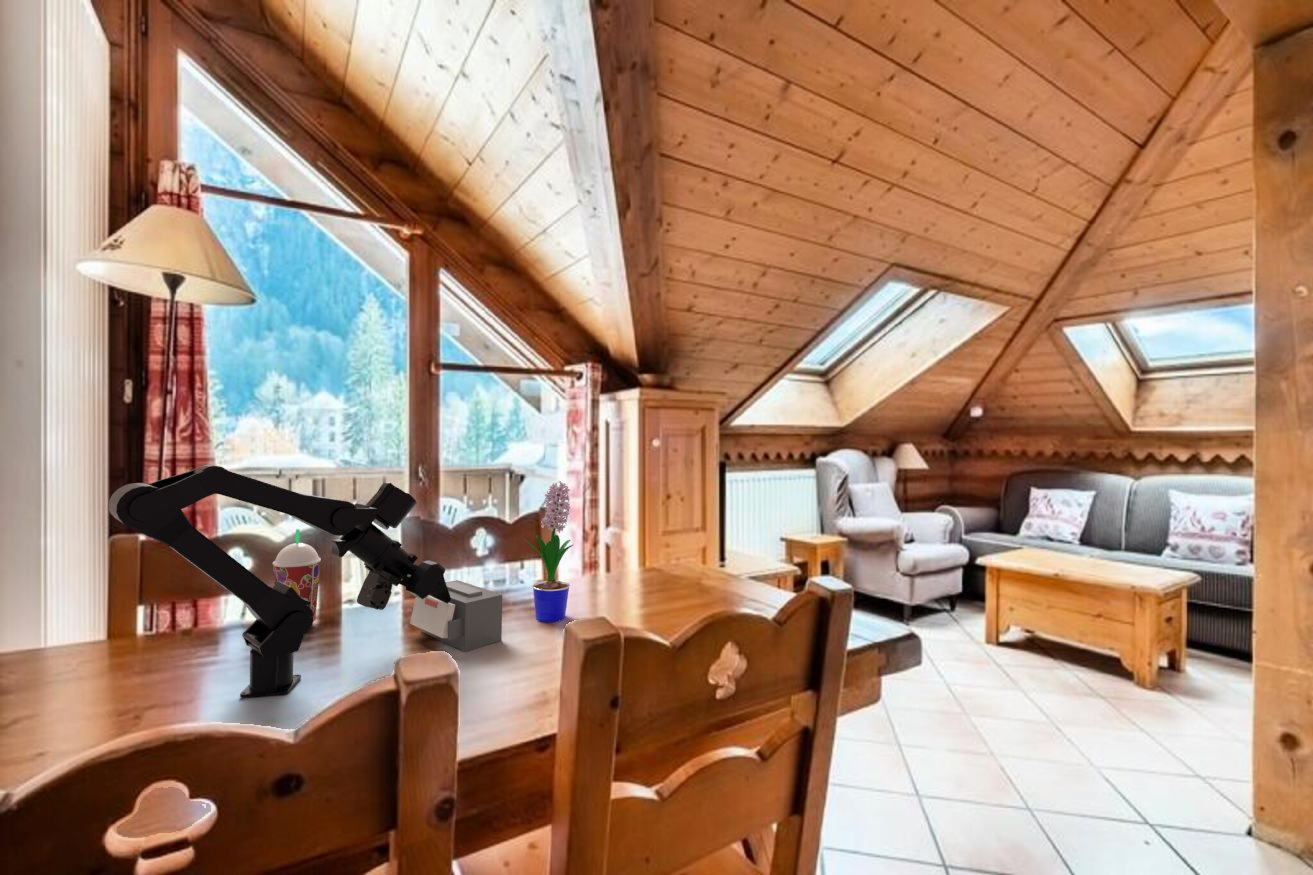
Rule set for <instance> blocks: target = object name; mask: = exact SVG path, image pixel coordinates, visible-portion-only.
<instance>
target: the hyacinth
mask: <svg viewBox="0 0 1313 875" xmlns="http://www.w3.org/2000/svg"><path fill="white" fill-rule="evenodd" d="M558 483H559V486H558ZM570 491H571V489H570V488H569V486H568V485H567V483H566V482H565V483H563V482H562V481H560V480H558V481H557V482H556V483H552V484H551V485H549V487H548V490H547V491H546V493H545V494H544V496H545V498H544V500H545V502H546V504H545V507H546V508H544V511H545V516H544V517H543V518H541V521H540V524H541V525H540V527H541V528H542V529H544V527H545V526H546V528H547V529H548V531H551V536H550V540H548V541H547V542H546V544H545V542H544V540H543V538H541V536H539V534H537V535H536V540H537V543H538V546H539V549H540V550H541V551H540V550H538V548H536V546H534V545H533V544H531V543H530V542H529V541H528V540H527V539H524V541H525V542H526V543H527V545H529V546H530V547H531V548H532V549H533V550H534V551H535V552H537V553H538V554H539V556H540V557H541V559H542V561H543V564H544V566H545V569H546V572H547V579H546V580H543V581H538V582H535V583H533V584H532V586H531V587H532V591H533V592H532V593H533V599H534V611H535V619H536V620H537V622H541V623H556V622H557V621H558V622H560V621H559V620H561V621H563V620H565V619H564V618H566V615H567V614H566V613H567V606H568V597H569V593H570V592H569V591H570V586H571V585H570V583H569V582H567V581H563V580H556V578H555V577H556V571H557V569H558V566H559V565H560V562H561V561H562V558H563V556H564V554H565V553H566V552H567V551H568V550H569V549H570V548H572V547H573V546H574V544H571V545H568V544H569V543H570V542H571V539H567V540H565V542H563V543H562V545H561V540H560V536H559V535H558V534H560V533H561V532H563V531H564V529H565V528H566V525H567V522H568V518H569V517H568V516H570V509H571V506H570V505H571V503H570V500H571V499H570V496H569V495H570V494H569V492H570ZM564 524H565V525H564ZM556 532H558V534H555V533H556ZM567 545H568V546H567ZM562 619H563V620H562Z"/></svg>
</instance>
